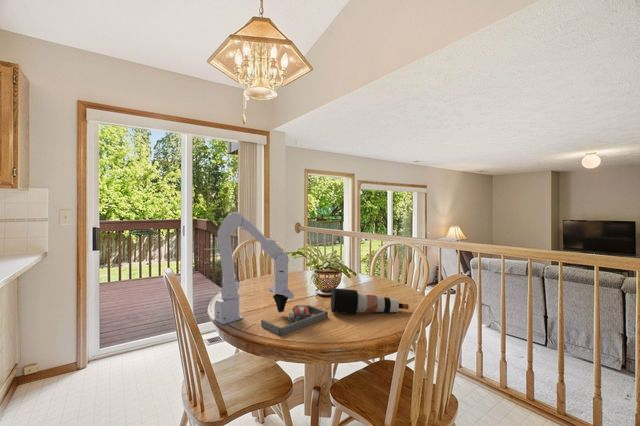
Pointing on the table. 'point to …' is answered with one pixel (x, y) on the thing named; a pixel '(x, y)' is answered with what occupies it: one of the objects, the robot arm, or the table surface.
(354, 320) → the table surface
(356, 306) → the striped bottle
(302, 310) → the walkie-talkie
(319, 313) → the charging dock
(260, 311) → the table surface
